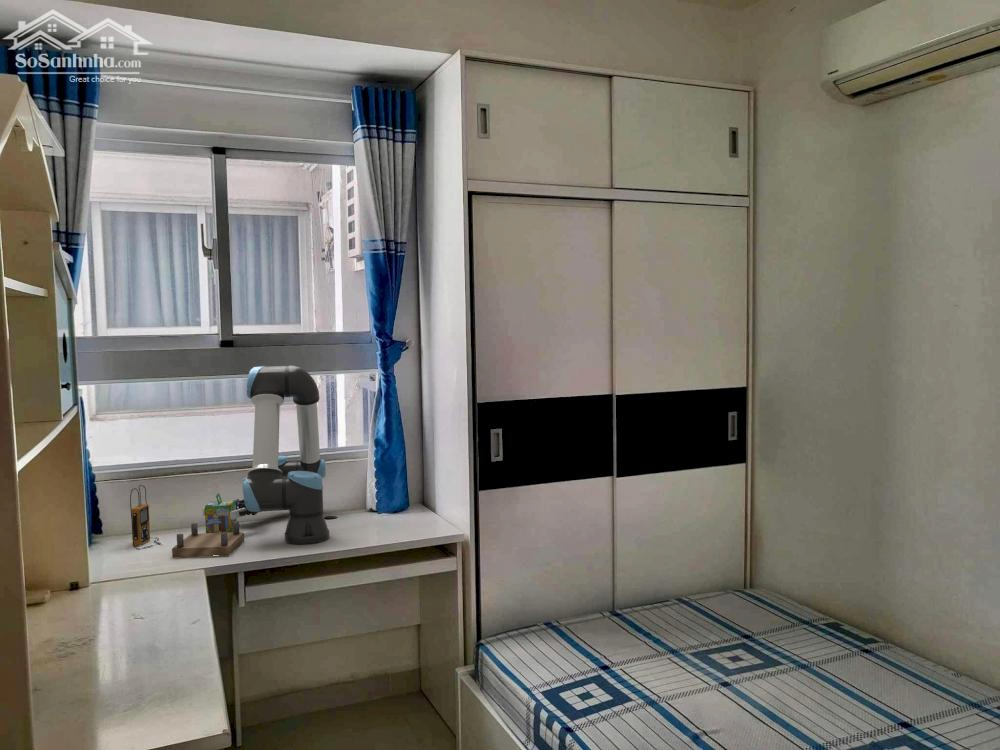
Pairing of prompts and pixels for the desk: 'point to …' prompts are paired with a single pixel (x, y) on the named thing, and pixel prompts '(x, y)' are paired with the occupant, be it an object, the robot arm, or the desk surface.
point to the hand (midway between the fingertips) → (216, 513)
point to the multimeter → (140, 522)
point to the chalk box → (219, 516)
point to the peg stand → (207, 543)
